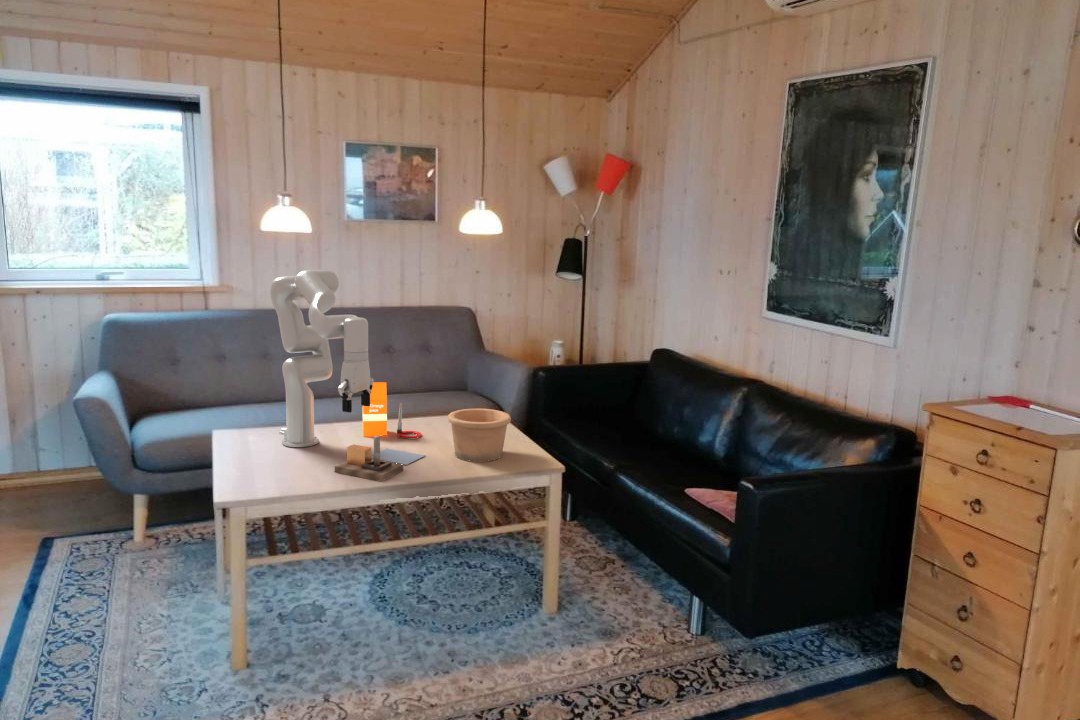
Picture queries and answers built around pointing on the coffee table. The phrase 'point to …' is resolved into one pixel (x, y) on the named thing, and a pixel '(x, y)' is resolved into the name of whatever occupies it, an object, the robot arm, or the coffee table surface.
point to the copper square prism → (364, 458)
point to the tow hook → (399, 430)
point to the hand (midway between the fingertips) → (356, 408)
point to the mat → (398, 456)
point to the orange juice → (376, 411)
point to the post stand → (367, 473)
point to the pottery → (478, 433)
